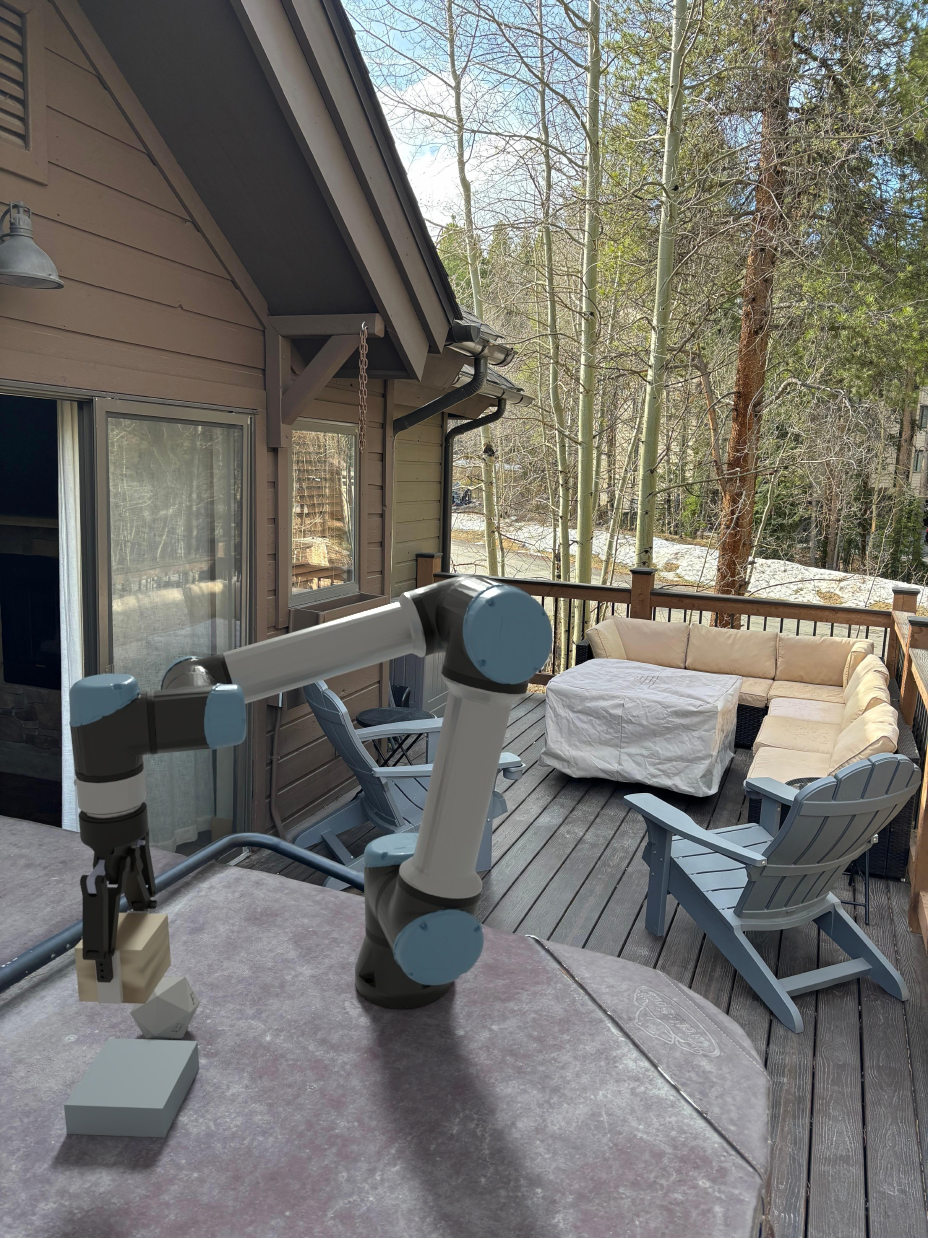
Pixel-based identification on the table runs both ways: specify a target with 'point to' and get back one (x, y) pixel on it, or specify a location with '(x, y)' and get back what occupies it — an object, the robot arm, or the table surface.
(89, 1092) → the plinth
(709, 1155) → the table surface
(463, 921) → the robot arm
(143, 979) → the maple block
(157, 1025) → the die
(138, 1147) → the table surface
